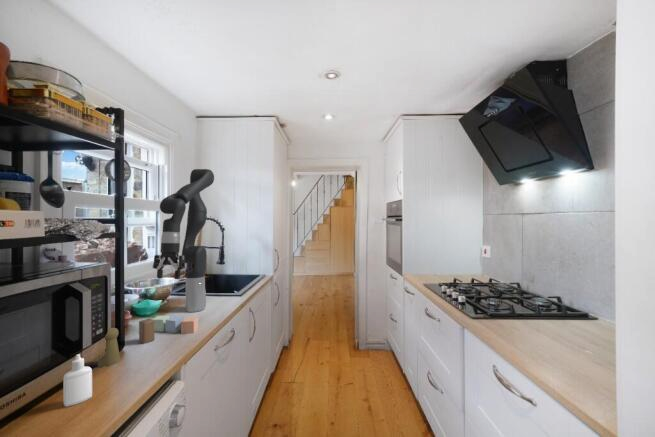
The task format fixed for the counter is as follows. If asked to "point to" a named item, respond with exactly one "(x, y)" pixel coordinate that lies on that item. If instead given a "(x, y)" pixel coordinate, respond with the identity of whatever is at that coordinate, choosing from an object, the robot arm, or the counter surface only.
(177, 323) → the slate blue cube
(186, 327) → the terracotta cube
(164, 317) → the sage cube
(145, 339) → the wooden block
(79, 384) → the eye dropper bottle
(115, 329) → the olive pawn
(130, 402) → the counter surface
